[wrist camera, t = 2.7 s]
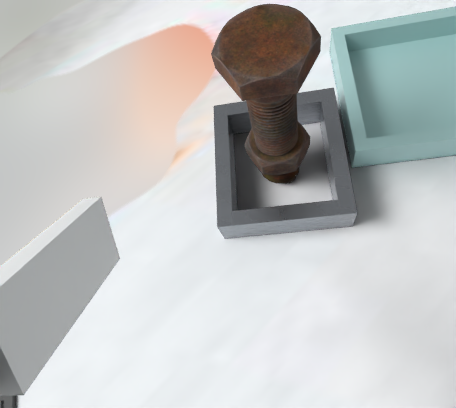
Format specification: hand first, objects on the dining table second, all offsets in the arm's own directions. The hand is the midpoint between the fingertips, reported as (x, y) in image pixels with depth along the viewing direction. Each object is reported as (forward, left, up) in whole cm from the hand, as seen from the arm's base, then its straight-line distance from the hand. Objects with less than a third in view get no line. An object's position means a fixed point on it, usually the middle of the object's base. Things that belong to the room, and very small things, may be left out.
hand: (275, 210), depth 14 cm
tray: (-13, -16, -17) cm, 27 cm away
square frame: (0, -10, -17) cm, 20 cm away
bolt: (0, -10, -17) cm, 20 cm away
